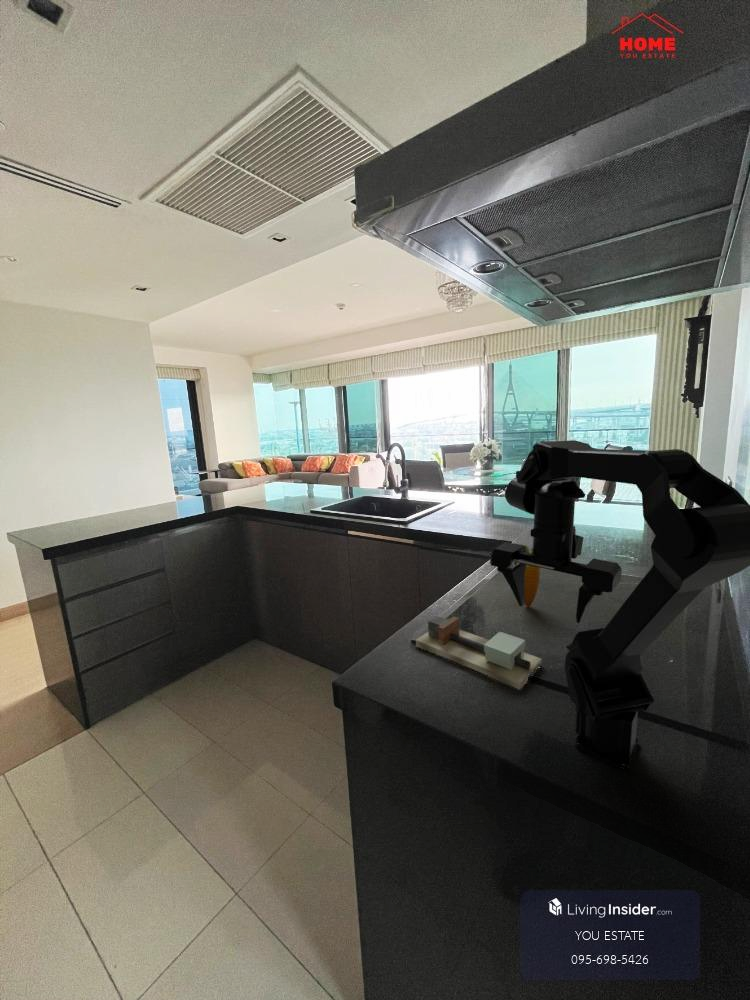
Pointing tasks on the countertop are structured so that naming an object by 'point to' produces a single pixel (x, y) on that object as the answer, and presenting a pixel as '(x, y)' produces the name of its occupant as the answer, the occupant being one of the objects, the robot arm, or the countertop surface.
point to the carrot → (531, 581)
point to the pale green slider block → (504, 650)
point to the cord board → (472, 652)
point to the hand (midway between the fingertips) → (549, 613)
